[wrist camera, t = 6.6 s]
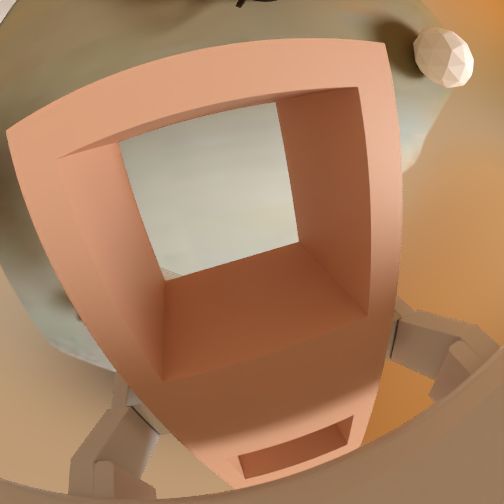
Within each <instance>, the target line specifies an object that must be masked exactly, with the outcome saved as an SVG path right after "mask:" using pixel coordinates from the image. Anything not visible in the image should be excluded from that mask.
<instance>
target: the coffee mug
mask: <svg viewBox="0 0 504 504" xmlns="http://www.w3.org/2000/svg"><path fill="white" fill-rule="evenodd" d="M245 1H246V0H238V2H237V4H236V6H237V7H239V8H241V7H242V5H243V4H244V3H245ZM256 1H263V2H269V1H276V0H256Z"/></svg>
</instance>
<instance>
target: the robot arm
mask: <svg viewBox="0 0 504 504" xmlns="http://www.w3.org/2000/svg"><path fill="white" fill-rule="evenodd" d="M16 1H17V0H0V23H1V22H2V20H3V19H4V17H5V16H6V14H7V13H8V11H9V10H10V8H11V7H12V6H13V4H14V3H15V2H16ZM389 359H391V360H392V361H394V362H396V363H398V364H400V365H403V366H405V367H407V368H409V369H412V370H414V371H416V372H418V373H420V374H422V375H425V376H427V377H429V378H431V379H434V380H435V381H434V383H433V385H432V387H431V389H430V392H429V396H430V398H431V399H432V400H433V401H434V404H433V405H431V406H430V407H429V408H427V409H425V410H424V411H423V412H421V413H419V414H418V415H417V416H415V417H413V418H412V419H410V420H408V421H407V422H405V423H404V424H402V425H400V426H399V427H397V428H395V429H393V430H392V431H390V432H388V433H386V434H385V435H383V436H381V437H379V438H377V439H375V440H373V441H371V442H369V443H368V444H365V445H363V446H361V447H359V448H357V449H355V450H353V451H351V452H349V453H346V454H344V455H342V456H340V457H337V458H335V459H332V460H330V461H328V462H325V463H323V464H320V465H317V466H315V467H312V468H309V469H307V470H304V471H301V472H298V473H295V474H292V475H289V476H286V477H282V478H279V479H276V480H272V481H269V482H265V483H261V484H257V485H253V486H249V487H244V488H240V489H235V490H230V491H225V492H219V493H213V494H206V495H199V496H191V497H182V498H170V499H156V491H155V488H154V487H153V486H151V485H149V484H147V483H146V482H144V481H142V480H140V478H141V475H142V474H143V471H144V469H145V467H146V465H147V463H148V461H149V458H150V457H151V454H152V452H153V450H154V448H155V446H156V444H157V442H158V440H159V437H160V436H159V435H162V434H168V433H171V432H170V431H169V430H168V429H167V428H166V427H165V426H164V425H163V424H162V423H161V422H160V421H159V420H158V419H157V418H156V417H155V416H154V415H153V413H152V412H151V411H150V410H149V409H148V408H147V407H146V406H145V405H144V403H143V402H142V401H141V400H140V399H139V398H138V396H137V395H136V394H135V393H134V392H133V390H132V389H131V388H130V387H129V386H128V384H127V383H126V382H125V381H124V379H123V378H122V377H121V375H120V374H119V373H118V372H117V371H116V377H115V383H114V391H113V399H112V408H111V409H108V410H107V411H106V412H105V414H104V415H103V417H102V418H101V419H100V420H99V422H98V423H97V424H96V426H95V427H94V428H93V430H92V431H91V432H90V434H89V435H88V437H87V438H86V439H85V441H84V442H83V443H82V445H81V446H80V447H79V449H78V450H77V451H76V453H75V454H74V456H73V457H72V458H71V465H70V476H69V493H68V494H62V493H56V492H51V491H46V490H42V489H38V488H33V487H29V486H26V485H22V484H18V483H15V482H11V481H8V480H5V479H2V478H0V504H504V345H503V346H502V347H500V346H499V345H498V344H497V343H496V342H495V341H494V340H493V339H492V338H491V337H490V336H489V335H488V334H487V333H485V332H484V331H483V330H482V329H481V328H480V327H479V326H478V325H476V324H472V323H467V322H464V321H459V320H456V319H452V318H448V317H444V316H440V315H436V314H433V313H429V312H425V311H421V310H417V311H414V310H413V309H412V308H411V307H409V306H408V305H407V304H406V303H405V302H404V301H403V300H402V299H401V298H399V296H397V295H396V301H395V308H394V315H393V321H392V327H391V332H390V338H389V343H388V348H387V353H386V358H385V361H387V360H389Z"/></svg>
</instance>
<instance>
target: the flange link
mask: <svg viewBox="0 0 504 504" xmlns="http://www.w3.org/2000/svg"><path fill="white" fill-rule="evenodd" d="M272 102H276V107H277V112H278V117H279V122H280V127H281V132H282V138H283V143H284V149H285V154H286V160H287V166H288V172H289V178H290V184H291V190H292V196H293V203H294V210H295V216H296V223H297V230H298V237H299V242H297V243H294V244H290V245H287V246H283V247H280V248H277V249H273V250H270V251H267V252H263V253H260V254H256V255H253V256H250V257H246V258H243V259H239V260H236V261H233V262H229V263H226V264H222V265H219V266H215V267H212V268H209V269H205V270H202V271H198V272H195V273H192V274H188V275H185V276H181V277H178V278H174V279H171V280H168V281H165V279H164V277H163V274H162V272H161V269H160V267H159V264H158V262H157V259H156V256H155V254H154V251H153V249H152V246H151V243H150V241H149V238H148V235H147V232H146V230H145V227H144V224H143V221H142V218H141V215H140V213H139V210H138V207H137V204H136V201H135V198H134V194H133V191H132V188H131V185H130V182H129V179H128V175H127V172H126V169H125V165H124V162H123V158H122V155H121V151H120V148H119V144H118V142H120V141H123V140H126V139H129V138H131V137H134V136H137V135H140V134H143V133H146V132H149V131H152V130H155V129H159V128H162V127H165V126H168V125H172V124H175V123H179V122H182V121H186V120H190V119H194V118H198V117H202V116H206V115H210V114H214V113H219V112H223V111H228V110H233V109H238V108H243V107H248V106H254V105H259V104H265V103H272ZM6 135H7V139H8V144H9V148H10V153H11V157H12V160H13V164H14V168H15V171H16V175H17V178H18V182H19V185H20V188H21V191H22V194H23V197H24V200H25V203H26V206H27V208H28V211H29V214H30V217H31V219H32V222H33V224H34V227H35V229H36V232H37V234H38V236H39V239H40V241H41V243H42V246H43V248H44V250H45V252H46V254H47V257H48V259H49V261H50V263H51V265H52V267H53V269H54V271H55V273H56V275H57V277H58V279H59V281H60V283H61V285H62V286H63V288H64V290H65V292H66V294H67V296H68V297H69V299H70V301H71V303H72V304H73V306H74V308H75V309H76V311H77V313H78V314H79V316H80V318H81V319H82V321H83V323H84V324H85V326H86V327H87V329H88V330H89V332H90V333H91V335H92V337H93V338H94V340H95V341H96V342H97V344H98V345H99V347H100V348H101V350H102V351H103V353H104V354H105V355H106V357H107V358H108V360H109V361H110V362H111V364H112V365H113V366H114V368H115V369H116V370H117V372H118V373H119V374H120V375H121V377H122V378H123V379H124V381H125V382H126V383H127V384H128V386H129V387H130V388H131V389H132V390H133V392H134V393H135V394H136V395H137V396H138V398H139V399H140V400H141V401H142V402H143V403H144V405H145V406H146V407H147V408H148V409H149V410H150V411H151V412H152V413H153V415H154V416H155V417H156V418H157V419H158V420H159V421H160V422H161V423H162V424H163V425H164V426H165V427H166V428H167V429H168V430H169V431H170V432H171V433H172V434H173V435H174V436H175V437H176V438H177V439H178V440H179V441H180V442H181V443H182V444H183V445H184V446H185V447H186V448H187V449H188V450H189V451H190V452H192V453H193V454H194V455H195V456H196V457H197V458H198V459H199V460H200V461H201V462H203V463H204V464H205V465H206V466H207V467H208V468H210V469H211V470H212V471H213V472H214V473H216V474H217V475H218V476H219V477H221V478H222V479H223V480H225V481H226V482H227V483H228V484H230V485H231V486H232V487H233V488H235V489H240V488H244V487H249V486H253V485H257V484H261V483H265V482H269V481H272V480H276V479H279V478H282V477H286V476H289V475H292V474H295V473H298V472H301V471H304V470H307V469H309V468H312V467H315V466H317V465H320V464H323V463H325V462H328V461H330V460H332V459H335V458H337V457H340V456H342V455H344V454H346V453H349V452H351V451H353V450H355V449H357V448H359V447H360V445H361V442H362V439H363V436H364V433H365V431H366V427H367V424H368V421H369V418H370V415H371V412H372V408H373V405H374V401H375V398H376V394H377V390H378V387H379V383H380V379H381V375H382V371H383V366H384V362H385V358H386V353H387V348H388V343H389V338H390V332H391V327H392V321H393V315H394V308H395V301H396V293H397V285H398V276H399V265H400V253H401V236H402V162H401V146H400V134H399V123H398V115H397V107H396V99H395V93H394V87H393V81H392V75H391V70H390V65H389V60H388V55H387V51H386V46H385V43H379V42H371V41H361V40H349V39H329V38H294V39H274V40H261V41H251V42H243V43H235V44H228V45H222V46H216V47H210V48H205V49H200V50H195V51H191V52H186V53H182V54H178V55H174V56H170V57H166V58H163V59H159V60H155V61H152V62H149V63H145V64H142V65H139V66H136V67H133V68H130V69H127V70H124V71H122V72H119V73H116V74H114V75H111V76H108V77H106V78H103V79H101V80H99V81H96V82H94V83H91V84H89V85H87V86H85V87H82V88H80V89H78V90H76V91H74V92H72V93H70V94H68V95H66V96H64V97H62V98H60V99H58V100H56V101H54V102H52V103H50V104H48V105H47V106H45V107H43V108H41V109H39V110H38V111H36V112H34V113H33V114H31V115H29V116H28V117H26V118H24V119H23V120H21V121H20V122H18V123H17V124H15V125H13V126H12V127H10V128H9V129H8V130H6Z"/></svg>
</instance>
